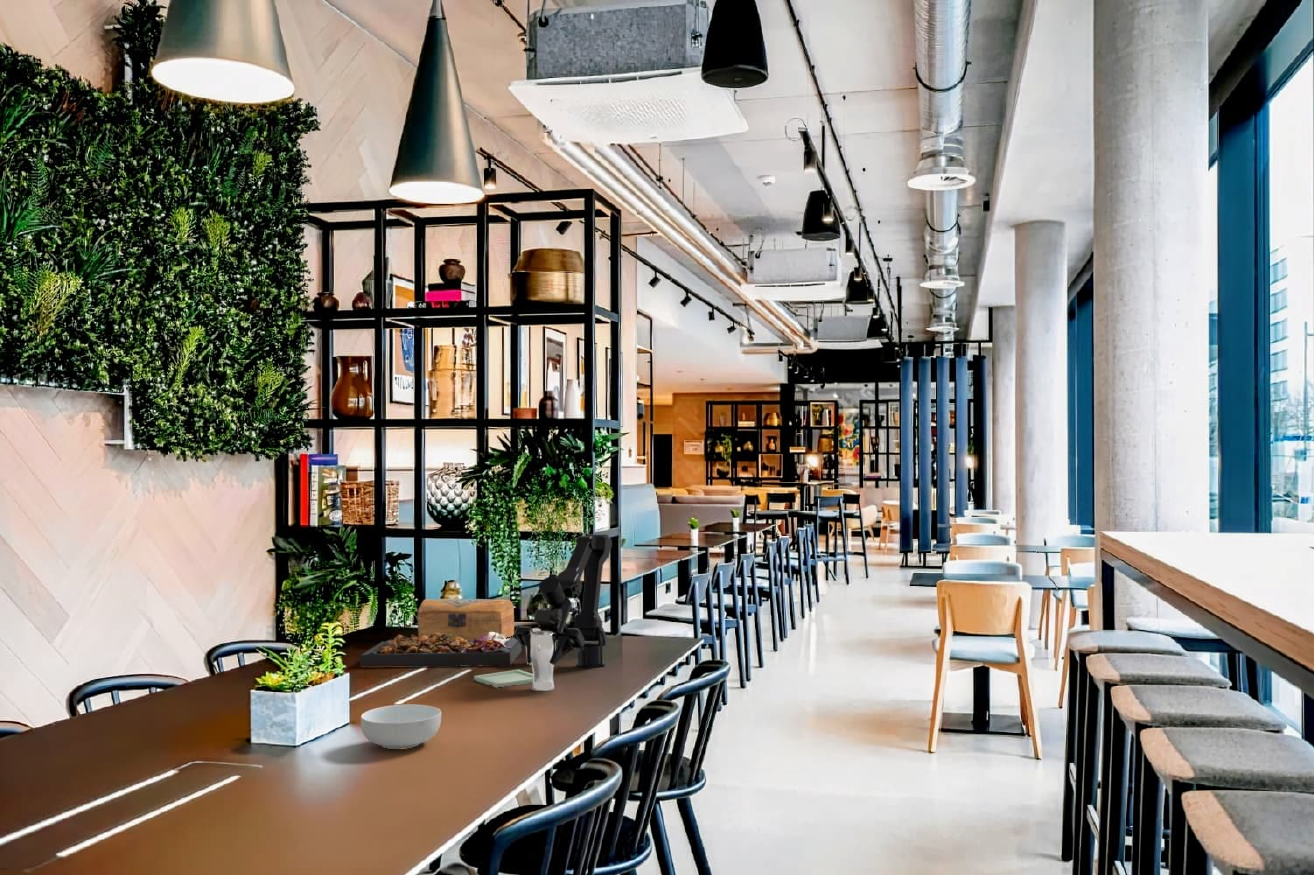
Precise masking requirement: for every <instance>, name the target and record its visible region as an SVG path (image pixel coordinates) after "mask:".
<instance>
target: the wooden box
mask: <svg viewBox="0 0 1314 875" xmlns="http://www.w3.org/2000/svg"><path fill="white" fill-rule="evenodd" d="M514 612H515V610H514V604H513V602H512V601H511V600H510V599H489V598H488V599H486V598H485V599H484V598H431V599H430V598H429V599H427V598H426V599H423V600H422V602H421V603H420V606H419V608H418V611H417V635H418V636H420V637H421V636H422V635H425V636H431V633H435V632H439V633H441V634H442V633H447V634H448V633H449V635H450V634H451V635H452V636H451V637H452V638H453V639H454V638H455V637H461V638H463V639H467V640H474V639H477V640H480V639H481V637H483V636H485V635H487V634H488V633H489V632H495V633H498V634H499V635H500V634H501V635H503V636H505V638H507V637H511V636H512V637H514V636H515V634H514V633H515V613H514ZM513 635H514V636H513ZM418 636H417V637H418Z"/></svg>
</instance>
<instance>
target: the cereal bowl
mask: <svg viewBox="0 0 1314 875" xmlns="http://www.w3.org/2000/svg"><path fill="white" fill-rule="evenodd" d="M441 722H442V711H441V709H440V708H438V707H435V706H431V705H426V704H412V703H411V704H406V703H405V704H394V705H393V704H391V705H385V706H380V707H377V708H372V709H369V710H366V711H365V712H363V713H362V714H361V715H360V727H361V732H362V734H363V735H364V736H363V737H365V738H366V739H367V740H368V741H369V742H371V743H373V744H376V745H379V746H382V748H383V749H385V748H390V749H401V748H411V749H413V748H412V747H415V746H417V747H419V746H420V745H421V744H423V743H425V742H426V741H429V740H430V739H432V738H433V737H434V736H435V735H436V734H437V733H438V731H439V730H440V727H441ZM420 743H421V744H420ZM419 744H420V745H419ZM418 745H419V746H418ZM415 748H416V747H415Z"/></svg>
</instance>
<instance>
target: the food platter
mask: <svg viewBox="0 0 1314 875" xmlns="http://www.w3.org/2000/svg"><path fill="white" fill-rule="evenodd" d="M451 636H452V635H451V634H450V635H449V633H448V634H447V633H442V634H441V633H439V632H435V633H431V636H425V635H422V636H421V637H420V636H416V635H413V634H411V637H406V636H404V635H402V634H398V635H397V636H396V637H394V638H393V639H389V640H384V641H381V642H379V643H377V644H376V645H374V646H372V647H371V648H369V649H368V650H367V651H364V652H363V653H362V654H360V656H359V667H360V666H456V665H457V666H460V665H510V664H511V665H512V664H513V663H514V662H513V661H515V660H516V659H517V658H518V656H519V655H520V654H521V652H523V651H522V645H520V643H519V641H518V639H517V638H515V637H514V636H512V637H510V638H507V639H506V638H505V636H503V635H501V634H500V635H499V634H498V633H495V632H489V633H488V634H487V635H485V636H483V637H481V639H480V640H477V639H474V640H467V639H463V638H461V637H455V638H454V639H453V638H452V637H451ZM516 657H517V658H516ZM515 658H516V659H515ZM512 662H513V663H512ZM511 665H510V666H511Z"/></svg>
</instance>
